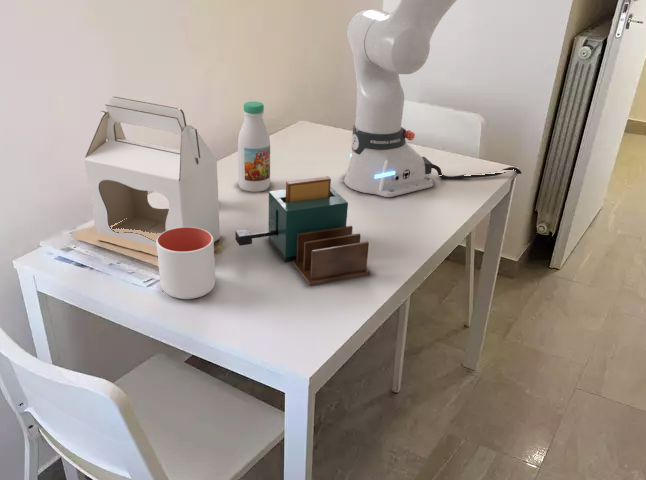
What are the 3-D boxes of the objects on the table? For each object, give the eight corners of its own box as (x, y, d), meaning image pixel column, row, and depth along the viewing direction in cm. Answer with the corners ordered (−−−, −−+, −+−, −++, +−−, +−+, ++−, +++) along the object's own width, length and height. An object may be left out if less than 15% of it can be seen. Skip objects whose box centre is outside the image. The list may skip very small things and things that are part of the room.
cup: (163, 274, 126) (159, 226, 121) (216, 274, 127) (214, 226, 121) (158, 302, 118) (152, 252, 113) (214, 301, 119) (212, 252, 113)
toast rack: (350, 254, 136) (352, 223, 132) (370, 274, 129) (373, 243, 125) (292, 263, 132) (293, 232, 128) (309, 285, 125) (310, 253, 121)
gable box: (95, 240, 137) (73, 102, 121) (134, 216, 147) (118, 85, 131) (187, 265, 130) (176, 121, 114) (221, 238, 140) (216, 103, 124)
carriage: (239, 245, 130) (239, 236, 129) (235, 239, 132) (235, 230, 131) (331, 232, 137) (331, 223, 136) (325, 226, 139) (326, 217, 138)
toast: (325, 222, 137) (328, 176, 132) (328, 225, 136) (331, 178, 131) (284, 228, 134) (285, 181, 129) (287, 231, 133) (288, 184, 128)
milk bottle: (233, 189, 161) (231, 106, 150) (245, 178, 167) (244, 97, 156) (263, 194, 159) (263, 110, 148) (274, 183, 165) (275, 101, 154)
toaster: (285, 262, 132) (286, 211, 126) (267, 238, 140) (267, 189, 134) (344, 252, 136) (348, 202, 130) (323, 230, 144) (326, 182, 138)
